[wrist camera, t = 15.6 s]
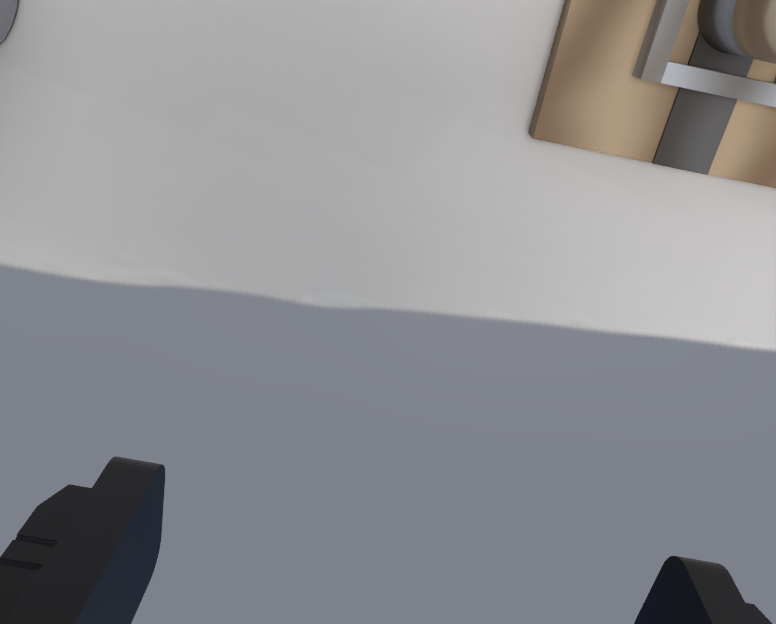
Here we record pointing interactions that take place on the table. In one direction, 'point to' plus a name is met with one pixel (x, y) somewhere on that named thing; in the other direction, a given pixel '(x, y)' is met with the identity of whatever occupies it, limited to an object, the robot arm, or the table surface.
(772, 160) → the board
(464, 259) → the table surface
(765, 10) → the tan grey cylinder
